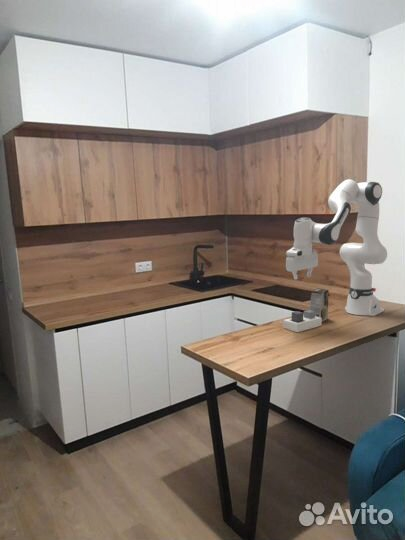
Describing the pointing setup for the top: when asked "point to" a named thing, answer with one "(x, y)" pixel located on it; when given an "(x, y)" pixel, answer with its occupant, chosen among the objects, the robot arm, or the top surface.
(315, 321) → the white slotted base
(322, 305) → the coffee box
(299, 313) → the black plug
